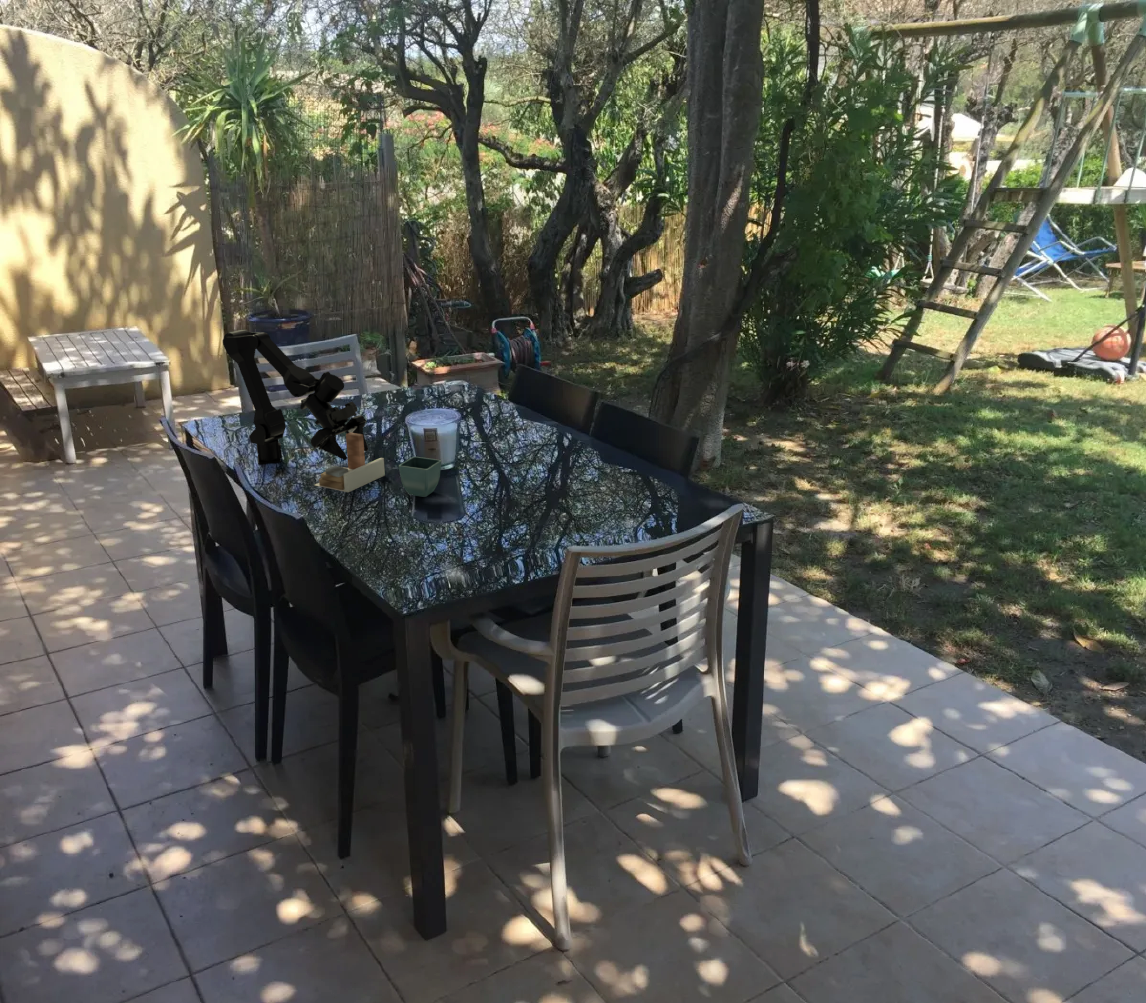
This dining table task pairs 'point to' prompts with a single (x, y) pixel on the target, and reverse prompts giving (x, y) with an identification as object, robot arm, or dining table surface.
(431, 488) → the flower pot
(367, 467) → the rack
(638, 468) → the dining table surface
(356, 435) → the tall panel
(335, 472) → the offcut stack
